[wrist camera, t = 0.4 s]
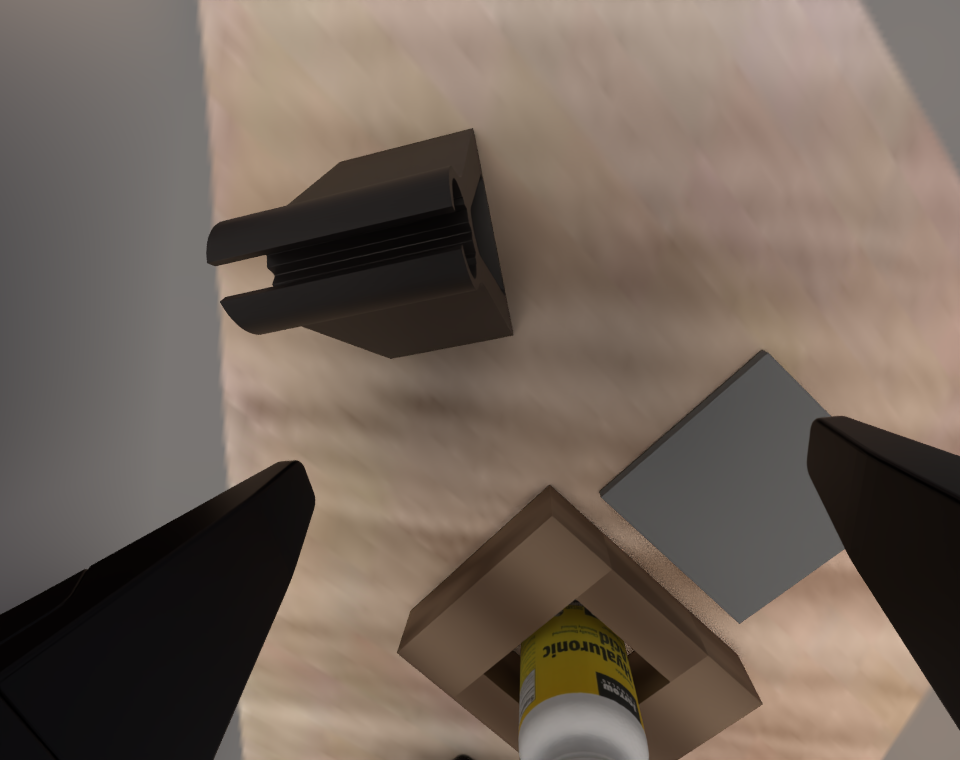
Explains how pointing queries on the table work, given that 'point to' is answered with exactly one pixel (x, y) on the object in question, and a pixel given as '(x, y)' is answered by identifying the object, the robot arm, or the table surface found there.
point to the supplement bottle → (578, 693)
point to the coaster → (734, 491)
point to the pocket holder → (544, 593)
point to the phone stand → (378, 253)
